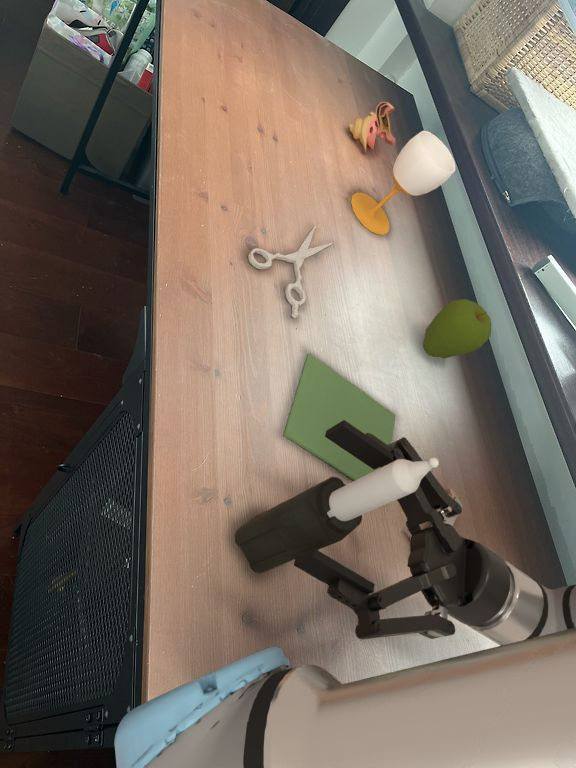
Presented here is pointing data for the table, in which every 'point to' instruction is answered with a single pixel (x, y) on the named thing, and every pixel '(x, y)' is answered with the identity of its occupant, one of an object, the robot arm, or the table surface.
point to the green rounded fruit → (457, 329)
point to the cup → (408, 178)
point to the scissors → (297, 260)
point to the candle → (325, 513)
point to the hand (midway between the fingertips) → (320, 487)
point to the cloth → (334, 416)
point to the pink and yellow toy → (374, 126)
